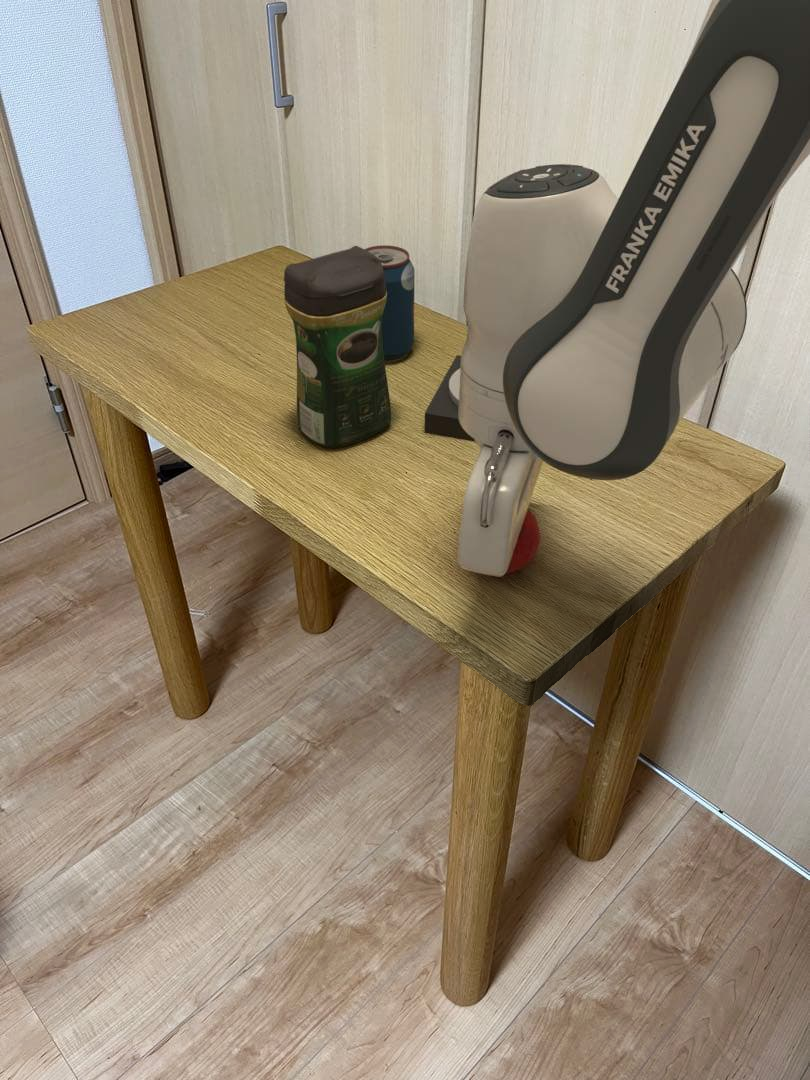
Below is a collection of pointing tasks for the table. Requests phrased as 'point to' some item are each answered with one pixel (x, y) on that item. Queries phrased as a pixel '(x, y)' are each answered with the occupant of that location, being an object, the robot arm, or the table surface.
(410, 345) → the soda can
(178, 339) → the table surface
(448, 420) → the scale
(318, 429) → the coffee jar
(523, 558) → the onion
